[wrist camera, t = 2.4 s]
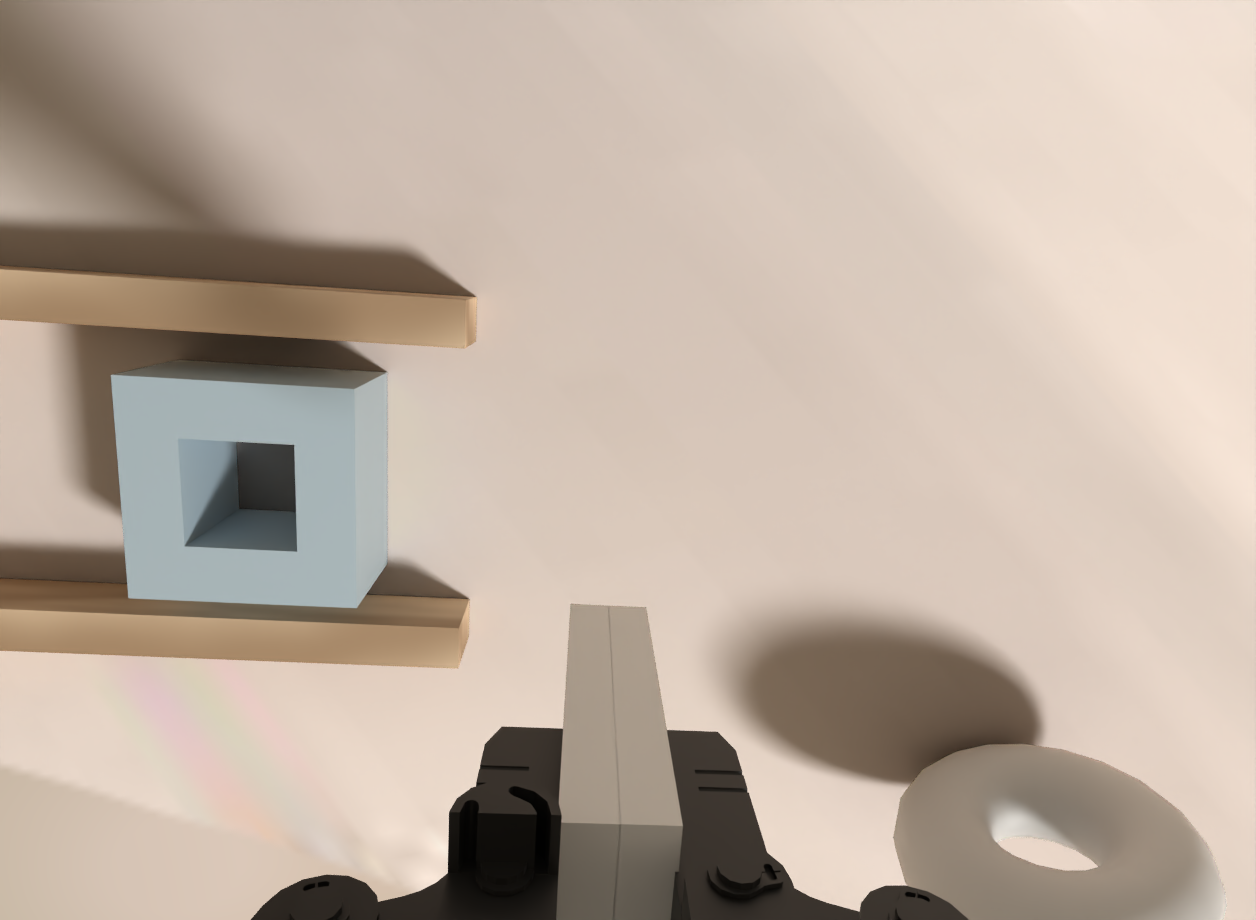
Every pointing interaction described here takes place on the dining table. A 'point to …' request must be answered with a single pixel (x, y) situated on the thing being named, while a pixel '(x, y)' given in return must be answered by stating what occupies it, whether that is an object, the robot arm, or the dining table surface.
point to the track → (220, 629)
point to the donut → (1052, 840)
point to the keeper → (208, 482)
